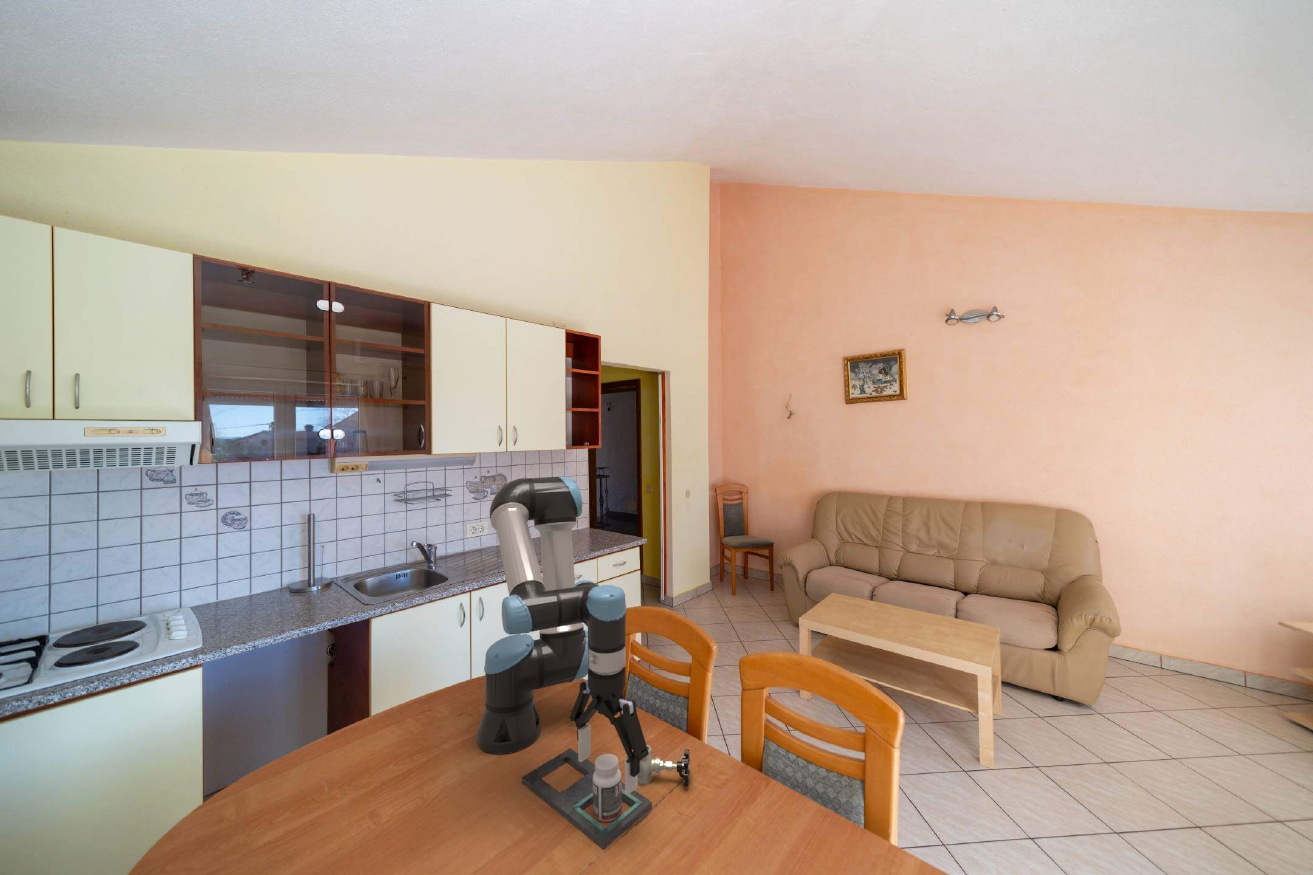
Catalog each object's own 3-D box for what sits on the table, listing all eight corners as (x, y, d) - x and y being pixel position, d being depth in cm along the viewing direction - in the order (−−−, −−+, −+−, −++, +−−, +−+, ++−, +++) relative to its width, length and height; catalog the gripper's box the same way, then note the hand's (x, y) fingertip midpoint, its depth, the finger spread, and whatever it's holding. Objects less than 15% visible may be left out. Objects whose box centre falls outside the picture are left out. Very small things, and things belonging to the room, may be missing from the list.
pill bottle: (626, 804, 96) (625, 755, 96) (614, 826, 91) (614, 773, 91) (600, 798, 98) (600, 749, 98) (587, 818, 93) (587, 767, 93)
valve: (631, 789, 101) (688, 794, 99) (631, 757, 101) (687, 762, 99) (636, 768, 107) (689, 772, 106) (636, 738, 108) (689, 742, 106)
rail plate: (521, 782, 103) (521, 776, 103) (569, 752, 113) (569, 746, 113) (603, 849, 86) (603, 841, 86) (652, 807, 95) (651, 800, 96)
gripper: (553, 654, 100) (553, 755, 100) (639, 696, 84) (639, 817, 84) (580, 642, 106) (580, 738, 106) (666, 680, 90) (666, 793, 90)
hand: (606, 773), depth 95 cm, fingers open, 13 cm apart
